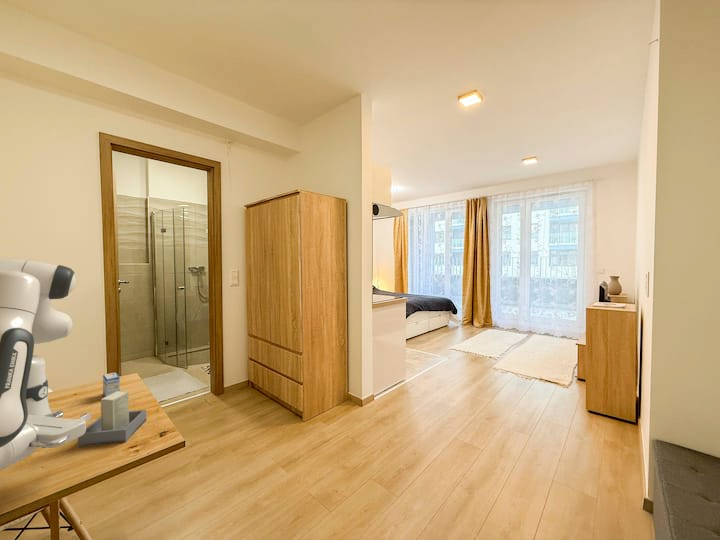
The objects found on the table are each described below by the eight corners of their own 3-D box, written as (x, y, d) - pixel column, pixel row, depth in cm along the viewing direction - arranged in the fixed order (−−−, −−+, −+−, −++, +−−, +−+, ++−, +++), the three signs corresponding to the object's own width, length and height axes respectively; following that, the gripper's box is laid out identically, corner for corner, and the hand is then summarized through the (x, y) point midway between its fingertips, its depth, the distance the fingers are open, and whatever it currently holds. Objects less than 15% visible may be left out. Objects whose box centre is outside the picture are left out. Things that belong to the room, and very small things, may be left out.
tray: (77, 447, 91) (77, 434, 91) (104, 424, 103) (104, 413, 103) (125, 442, 93) (125, 429, 93) (146, 420, 106) (146, 409, 106)
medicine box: (102, 394, 127) (102, 374, 126) (116, 391, 130) (115, 371, 130) (106, 400, 122) (106, 379, 121) (120, 396, 125) (120, 376, 125)
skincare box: (118, 424, 102) (117, 390, 101) (130, 425, 101) (129, 391, 101) (100, 435, 95) (99, 398, 95) (112, 436, 95) (112, 399, 95)
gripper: (50, 435, 71) (106, 406, 85) (-20, 427, 74) (45, 401, 87) (50, 460, 71) (106, 427, 85) (-20, 451, 74) (45, 421, 88)
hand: (74, 414), depth 86 cm, fingers open, 8 cm apart
